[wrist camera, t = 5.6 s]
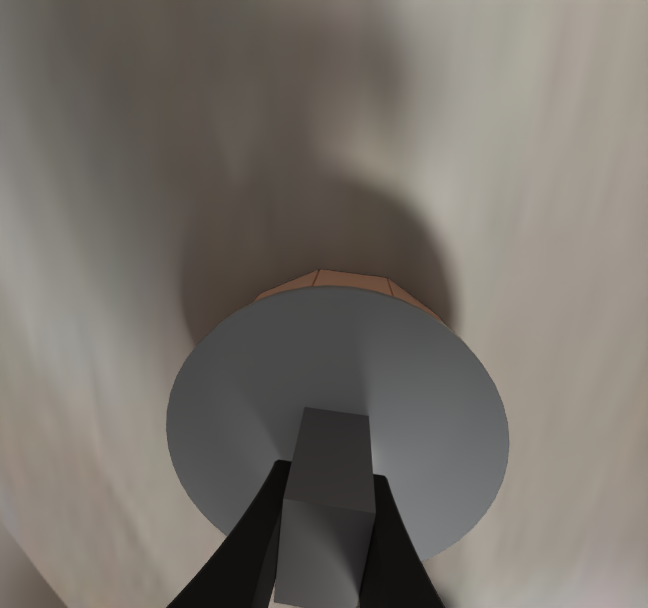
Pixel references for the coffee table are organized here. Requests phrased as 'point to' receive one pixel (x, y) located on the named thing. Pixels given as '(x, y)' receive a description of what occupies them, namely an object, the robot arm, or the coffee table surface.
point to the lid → (338, 429)
